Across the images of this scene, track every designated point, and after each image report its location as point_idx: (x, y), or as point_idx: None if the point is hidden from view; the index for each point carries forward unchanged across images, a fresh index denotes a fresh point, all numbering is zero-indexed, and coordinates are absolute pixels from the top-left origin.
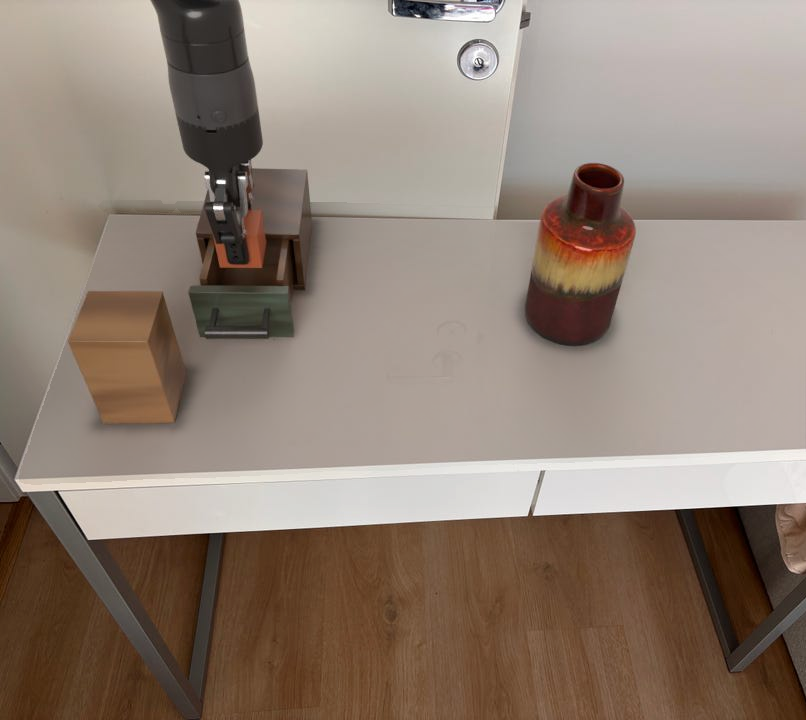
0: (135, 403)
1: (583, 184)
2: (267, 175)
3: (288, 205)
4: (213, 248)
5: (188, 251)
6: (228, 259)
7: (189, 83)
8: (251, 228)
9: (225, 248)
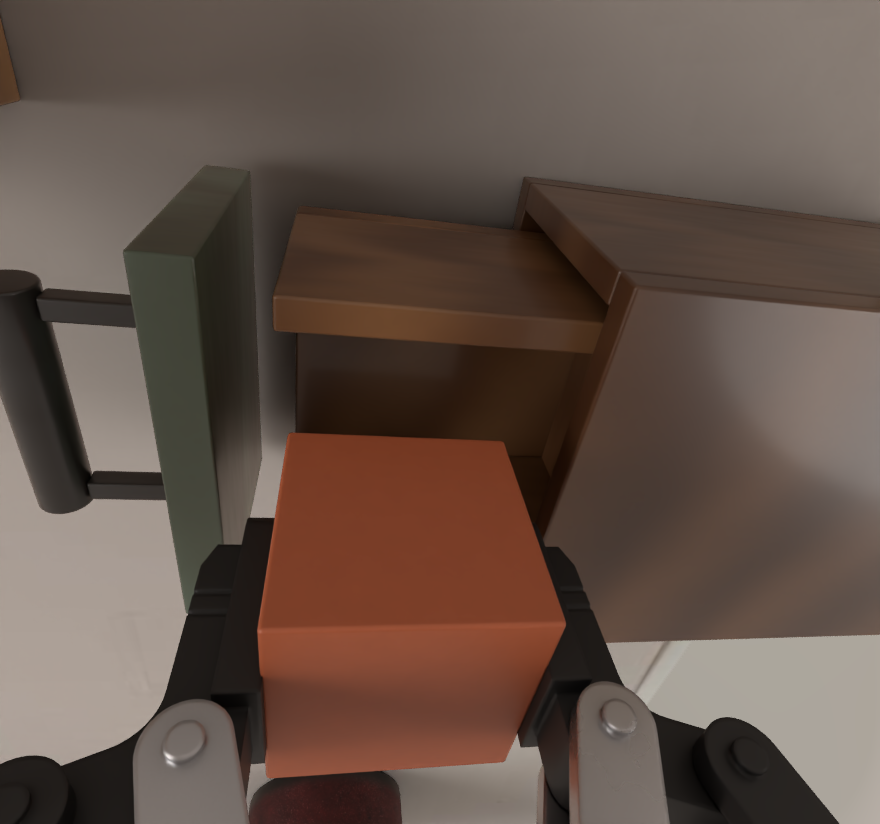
0: None
1: None
2: None
3: (695, 609)
4: (524, 347)
5: (787, 80)
6: (246, 537)
7: None
8: (333, 756)
9: (231, 602)
